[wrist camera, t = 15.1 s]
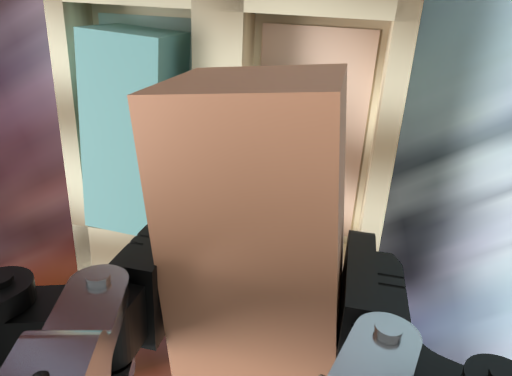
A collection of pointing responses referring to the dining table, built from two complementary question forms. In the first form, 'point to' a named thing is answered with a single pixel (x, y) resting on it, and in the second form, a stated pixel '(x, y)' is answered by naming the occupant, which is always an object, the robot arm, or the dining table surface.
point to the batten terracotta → (246, 215)
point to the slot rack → (261, 54)
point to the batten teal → (118, 113)
